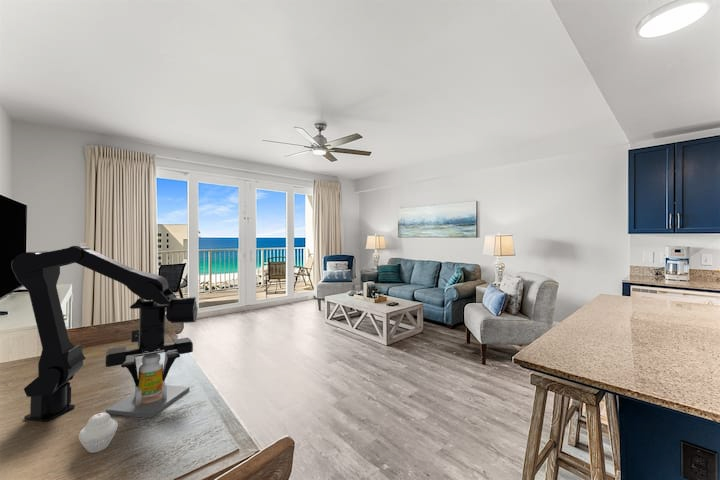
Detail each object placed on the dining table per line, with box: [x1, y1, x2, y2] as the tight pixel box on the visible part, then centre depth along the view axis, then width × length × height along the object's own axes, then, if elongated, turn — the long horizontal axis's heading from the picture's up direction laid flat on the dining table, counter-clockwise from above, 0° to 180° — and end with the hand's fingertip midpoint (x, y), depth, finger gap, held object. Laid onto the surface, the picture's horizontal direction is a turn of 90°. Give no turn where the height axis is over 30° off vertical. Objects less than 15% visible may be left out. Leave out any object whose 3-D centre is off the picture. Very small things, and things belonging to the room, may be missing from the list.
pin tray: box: [105, 380, 190, 419], centre depth 82 cm, size 14×12×4 cm
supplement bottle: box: [137, 353, 164, 397], centre depth 82 cm, size 5×5×10 cm
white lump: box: [78, 412, 119, 454], centre depth 64 cm, size 6×6×7 cm
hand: (150, 383), depth 82 cm, fingers closed on supplement bottle, 5 cm apart
